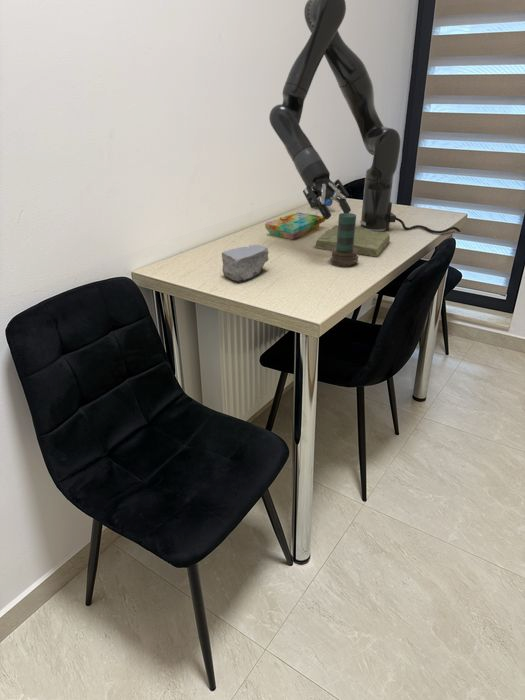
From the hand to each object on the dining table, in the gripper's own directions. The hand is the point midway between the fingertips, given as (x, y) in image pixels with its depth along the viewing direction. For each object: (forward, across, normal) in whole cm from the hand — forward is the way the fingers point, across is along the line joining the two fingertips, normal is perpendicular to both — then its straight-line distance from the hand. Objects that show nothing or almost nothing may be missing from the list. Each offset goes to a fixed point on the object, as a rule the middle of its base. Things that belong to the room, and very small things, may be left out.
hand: (338, 215), depth 147 cm
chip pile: (+12, 0, +7) cm, 14 cm away
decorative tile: (+5, +16, +14) cm, 22 cm away
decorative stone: (+3, -28, +16) cm, 32 cm away
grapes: (-21, +44, +41) cm, 64 cm away
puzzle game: (-11, +13, +30) cm, 35 cm away
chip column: (+9, 0, +4) cm, 10 cm away
